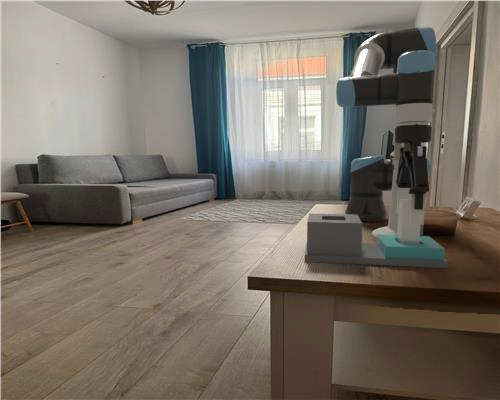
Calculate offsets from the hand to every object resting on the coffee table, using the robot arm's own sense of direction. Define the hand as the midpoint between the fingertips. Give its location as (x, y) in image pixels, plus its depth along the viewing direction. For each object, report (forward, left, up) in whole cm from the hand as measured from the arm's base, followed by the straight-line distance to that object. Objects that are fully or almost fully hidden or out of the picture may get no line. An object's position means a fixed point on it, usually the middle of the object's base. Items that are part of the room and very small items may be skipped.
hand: (409, 219), depth 84 cm
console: (-6, -6, -9) cm, 12 cm away
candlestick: (-16, +17, -9) cm, 25 cm away
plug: (0, 0, -8) cm, 8 cm away
